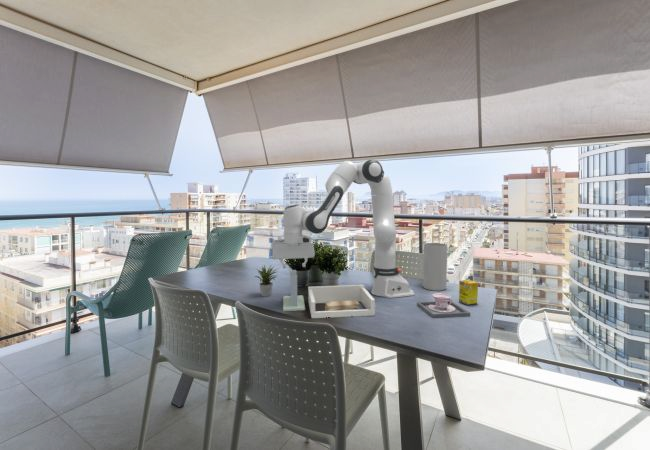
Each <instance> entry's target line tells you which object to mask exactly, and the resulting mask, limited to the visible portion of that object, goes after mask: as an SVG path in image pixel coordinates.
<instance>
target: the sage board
mask: <svg viewBox="0 0 650 450" xmlns="http://www.w3.org/2000/svg"><path fill="white" fill-rule="evenodd" d="M282 301H283V303H282V304H283V305H282V312H292V311H293V312H294V311H295V312H297V311H306V306H305V298H304V295H303V294H302V295H298V294H297V306H291V295H283V299H282Z"/></svg>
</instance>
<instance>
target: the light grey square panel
mask: <svg viewBox="0 0 650 450" xmlns="http://www.w3.org/2000/svg"><path fill="white" fill-rule="evenodd" d="M289 272H290V273H289V274H290V275H289V278H290V283H289V284H290V286H289V288H290V296H291V306H297V296H298V273H297V272H298V271H297V270H296V269H292V270H291V269H290V270H289Z"/></svg>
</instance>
